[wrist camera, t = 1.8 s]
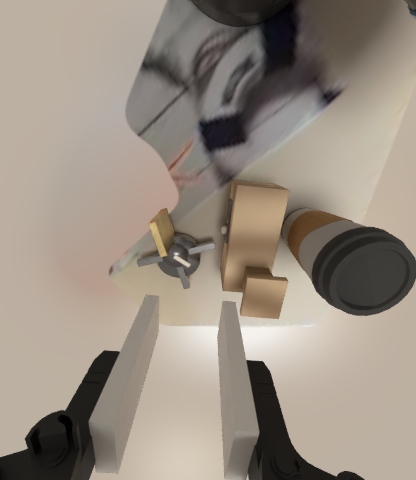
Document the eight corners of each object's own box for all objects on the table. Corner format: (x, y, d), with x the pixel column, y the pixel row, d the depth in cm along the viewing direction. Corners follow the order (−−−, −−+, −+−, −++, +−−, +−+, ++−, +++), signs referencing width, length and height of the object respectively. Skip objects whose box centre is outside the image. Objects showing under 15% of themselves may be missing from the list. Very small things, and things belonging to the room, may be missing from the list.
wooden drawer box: (224, 179, 30) (231, 190, 20) (276, 184, 30) (309, 197, 20) (213, 268, 35) (215, 313, 25) (258, 272, 35) (278, 318, 25)
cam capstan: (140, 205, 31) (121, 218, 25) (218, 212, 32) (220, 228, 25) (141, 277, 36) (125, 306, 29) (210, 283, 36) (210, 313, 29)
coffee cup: (282, 261, 35) (333, 331, 21) (267, 213, 32) (313, 257, 18) (335, 242, 34) (427, 303, 19) (324, 191, 31) (420, 219, 17)
